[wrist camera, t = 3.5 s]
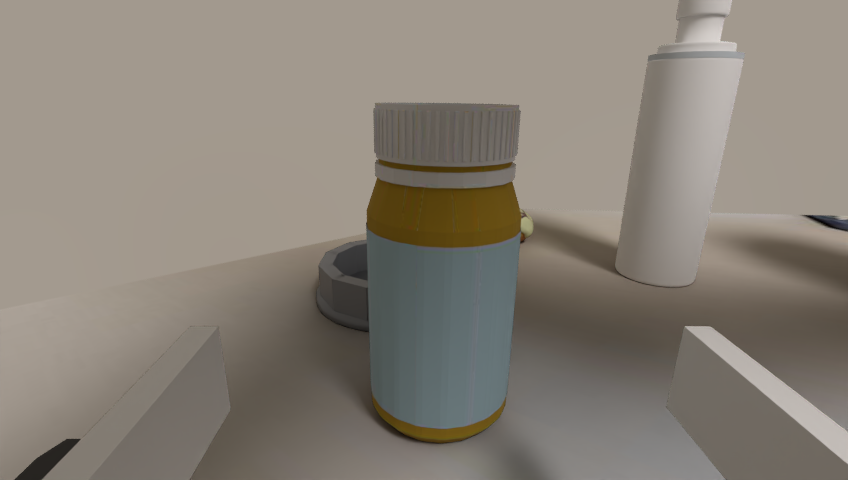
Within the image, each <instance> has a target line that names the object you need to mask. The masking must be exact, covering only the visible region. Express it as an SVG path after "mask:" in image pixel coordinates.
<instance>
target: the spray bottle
mask: <svg viewBox="0 0 848 480" xmlns="http://www.w3.org/2000/svg"><path fill="white" fill-rule="evenodd" d="M731 3H732V0H679V4H678V9H677V15H676V19H677V20H679V24H678V29H677V35H676V41H675V43H673V44H666V45H662V46H659V48H658V52H657V54H654V55H650V56H649V57H648V63H647V69H646V75H645V81H644V87H643V93H642V99H641V105H640V111H639V117H638V123H637V130H636V136H635V142H634V149H633V155H632V161H631V168H630V174H629V180H628V187H627V193H626V200H625V205H624V211H623V218H622V224H621V230H620V236H619V243H618V249H617V255H616V262H615V268H616V270H617V271H618V272H619V273H620V274H621V275H623V276H625V277H627V278H629V279H632V280H634V281H637V282H641V283H645V284H649V285H655V286H662V287H683V286H687V285H690V284H692V283H693V282H694V281H695V278H696V274H697V269H698V265H699V260H700V256H701V251H702V247H703V242H704V238H705V233H706V229H707V224H708V220H709V215H710V211H711V206H712V201H713V197H714V192H715V188H716V184H717V179H718V174H719V170H720V165H721V161H722V157H723V152H724V148H725V143H726V139H727V134H728V130H729V125H730V120H731V116H732V111H733V106H734V102H735V97H736V93H737V88H738V83H739V79H740V74H741V69H742V65H743V59H744V56H745V53H743V52H736V47H737V44H736V43H733V42H721V41H720V38H721V33H722V28H723V23H724V18H726V17H728V16H729V13H730V8H731Z"/></svg>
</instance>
